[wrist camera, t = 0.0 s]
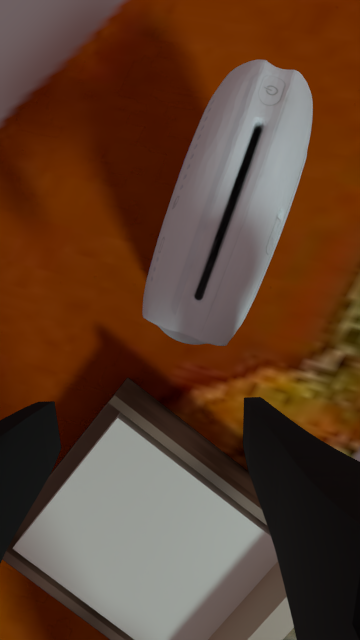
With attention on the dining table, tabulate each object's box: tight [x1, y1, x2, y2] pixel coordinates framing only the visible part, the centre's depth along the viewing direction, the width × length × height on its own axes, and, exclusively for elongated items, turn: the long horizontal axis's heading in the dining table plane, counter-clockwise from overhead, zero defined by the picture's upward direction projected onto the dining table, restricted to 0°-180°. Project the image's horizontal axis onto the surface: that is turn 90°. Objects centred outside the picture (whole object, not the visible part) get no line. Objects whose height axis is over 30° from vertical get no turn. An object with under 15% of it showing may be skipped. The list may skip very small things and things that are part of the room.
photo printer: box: [143, 60, 313, 346], centre depth 15 cm, size 10×4×12 cm, turn 161°
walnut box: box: [3, 378, 267, 640], centre depth 20 cm, size 17×13×4 cm
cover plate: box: [13, 412, 294, 640], centre depth 18 cm, size 15×11×3 cm
